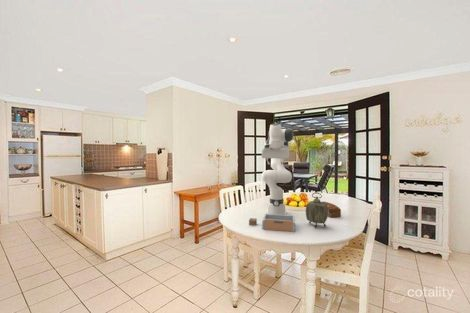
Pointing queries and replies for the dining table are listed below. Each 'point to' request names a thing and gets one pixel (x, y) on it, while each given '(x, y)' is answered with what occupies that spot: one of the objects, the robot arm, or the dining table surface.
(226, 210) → the dining table surface
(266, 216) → the blue-grey open tray
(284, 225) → the panel
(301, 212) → the dining table surface
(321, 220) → the tabletop clock
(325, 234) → the dining table surface
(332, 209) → the bread
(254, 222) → the walnut block
